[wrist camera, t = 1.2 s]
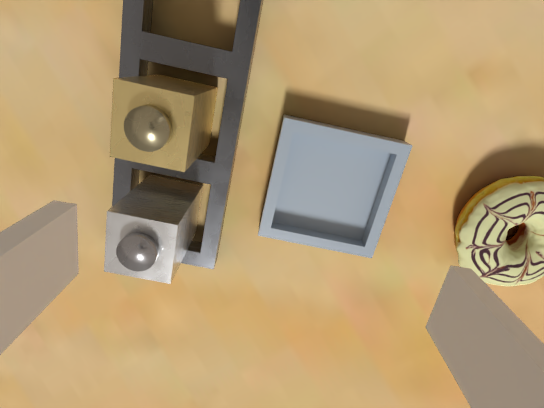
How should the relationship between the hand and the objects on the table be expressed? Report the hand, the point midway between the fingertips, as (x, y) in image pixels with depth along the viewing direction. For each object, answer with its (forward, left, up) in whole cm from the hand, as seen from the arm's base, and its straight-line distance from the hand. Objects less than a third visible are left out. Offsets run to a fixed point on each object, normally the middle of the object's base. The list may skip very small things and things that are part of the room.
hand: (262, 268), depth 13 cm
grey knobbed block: (+8, -8, -21) cm, 24 cm away
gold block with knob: (-1, -8, -21) cm, 23 cm away
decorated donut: (+3, +23, -21) cm, 32 cm away
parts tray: (+3, +6, -21) cm, 22 cm away
